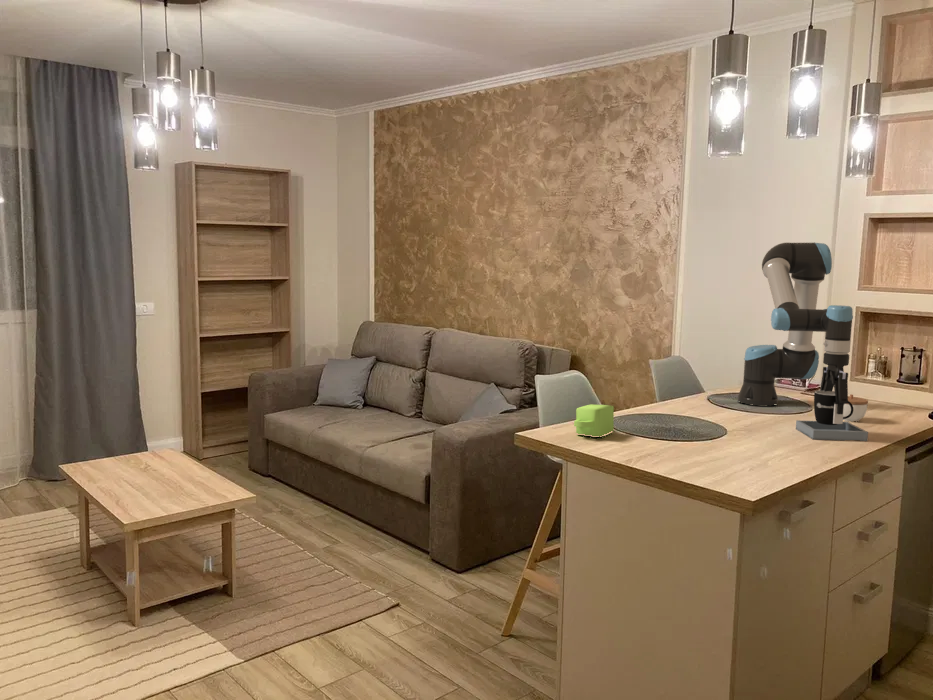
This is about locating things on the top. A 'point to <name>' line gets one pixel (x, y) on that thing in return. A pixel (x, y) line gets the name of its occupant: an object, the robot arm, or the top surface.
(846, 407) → the lidded jar
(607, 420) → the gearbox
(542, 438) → the top surface
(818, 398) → the mug
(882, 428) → the top surface
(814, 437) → the gray tray
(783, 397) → the top surface
